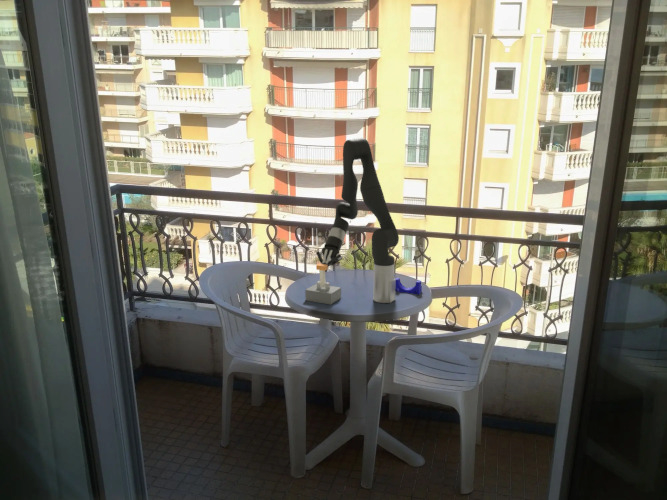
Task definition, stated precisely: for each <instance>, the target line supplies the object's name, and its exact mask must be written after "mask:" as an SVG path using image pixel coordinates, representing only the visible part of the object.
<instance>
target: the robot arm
mask: <svg viewBox="0 0 667 500" xmlns="http://www.w3.org/2000/svg"><path fill="white" fill-rule="evenodd" d="M372 154H373V153H372V150H371V145H370V144H369V141H368V140H367V139H366V138H365V137H359V138H358V137H357V138H352V139H347V140H346V141H345V142H344V143H343V147H342V166H343V168H342V171H343V175H342V176H343V179H342V188H341V189H342V190H341V198H342V200H343V201H340V202H338V203H337V204H336V205H335V206H336V207H335V215H334V216H335V218H334V221H333V224H332V227H331V229H330V231H329V233H328V236H327V238H326V241H325V243H324V247H323V248H322V250H321V251H316V256H317V258H318V261H319V263H320V264H326V265H328V269H327V270H326V271H325V273H327V271H328V270H329V267H330V266H335V265H336V264H338V263H339V261H341V260H342V258H343V257H342V254H340V251H341V249H342V246H343V243H344V242H345V237H346V234H347V232H348V228H349V222H348V220H355V219H356V218H357V216H358V213H359V209H358V202H357V194H358V186H360V189H359V190H360V191H359V192H360V193H361V196H362V200H363V203H364V205H365V206H366V207H367V209H368V210H369V211H370V212H371V213H372V214H373V216H374V217H376V220H377V221H378V224H379V227H380V228H377V229H376V230H374V231H373V233H372V235H371V253H372V254H371V256H372V259H373V288H372V289H373V293H372V294H373V295H372V296H373V297H372V298H373V301H374V302H376V303H378V304H379V303H381V304H386V303H387V304H392V302H394V301H395V300H396V292H397V291H396V280H395V279H396V278H395V259H396V258H395V257H394V256H393V255H389V249H391V248H394V247H396V246H397V245H398V244H399V241H400V240H399V239H400V237H399V232H398V229H397V227H396V225H395V223H394V220H393V218H392V216H391V213H390V210H389V208H388V205H387V202H386V199H385V196H384V192H383V189H382V187H381V183H380V180H379V177H378V174H377V171H376V168H375V162H374V158H373V155H372ZM356 160H360V163H361V165H362V176H361V180H360V185H359V184H358V178H357V176H356V174H355V172H354V168H353V165H354V163H355V162H354V161H356ZM346 219H348V220H346Z"/></svg>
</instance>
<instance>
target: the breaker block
mask: <svg viewBox="0 0 667 500" xmlns="http://www.w3.org/2000/svg"><path fill="white" fill-rule="evenodd" d="M304 295H305V301H307V302H315V303H320V304H326V305H332V304H333V305H334V303H336V302H337V301H338V300H339V301H340V300H341V298H342V287H339V286H333V285H331V284H330V282H328V281H326V283H325V287H320V280H318V281H316V283H315V284H312V285H311V286H310V287H308V288H306V289H305V294H304Z"/></svg>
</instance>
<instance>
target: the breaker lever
mask: <svg viewBox="0 0 667 500" xmlns="http://www.w3.org/2000/svg"><path fill="white" fill-rule="evenodd" d="M315 268H316V270H318V271H319V281H320V287H325V283H327V281H326V272H327V271H328V270H329V267H328V265H326V264H321V263H318V264H316V266H315ZM327 269H328V270H327ZM326 270H327V271H326ZM325 271H326V272H325Z"/></svg>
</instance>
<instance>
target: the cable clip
mask: <svg viewBox="0 0 667 500" xmlns="http://www.w3.org/2000/svg"><path fill="white" fill-rule="evenodd" d="M394 279H395V280H396V291H395V292H398V293H405V292H406V294H412V293H413V295H420V294H421V293H422V291H423V290H422V289H423V287H422V286H423V285H422V280H419V279H418V280H417V281H416V282H415V285H414V286H412V287H406V286H404V285H403V284H402V282H401V279H400V277H395V278H394Z"/></svg>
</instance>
